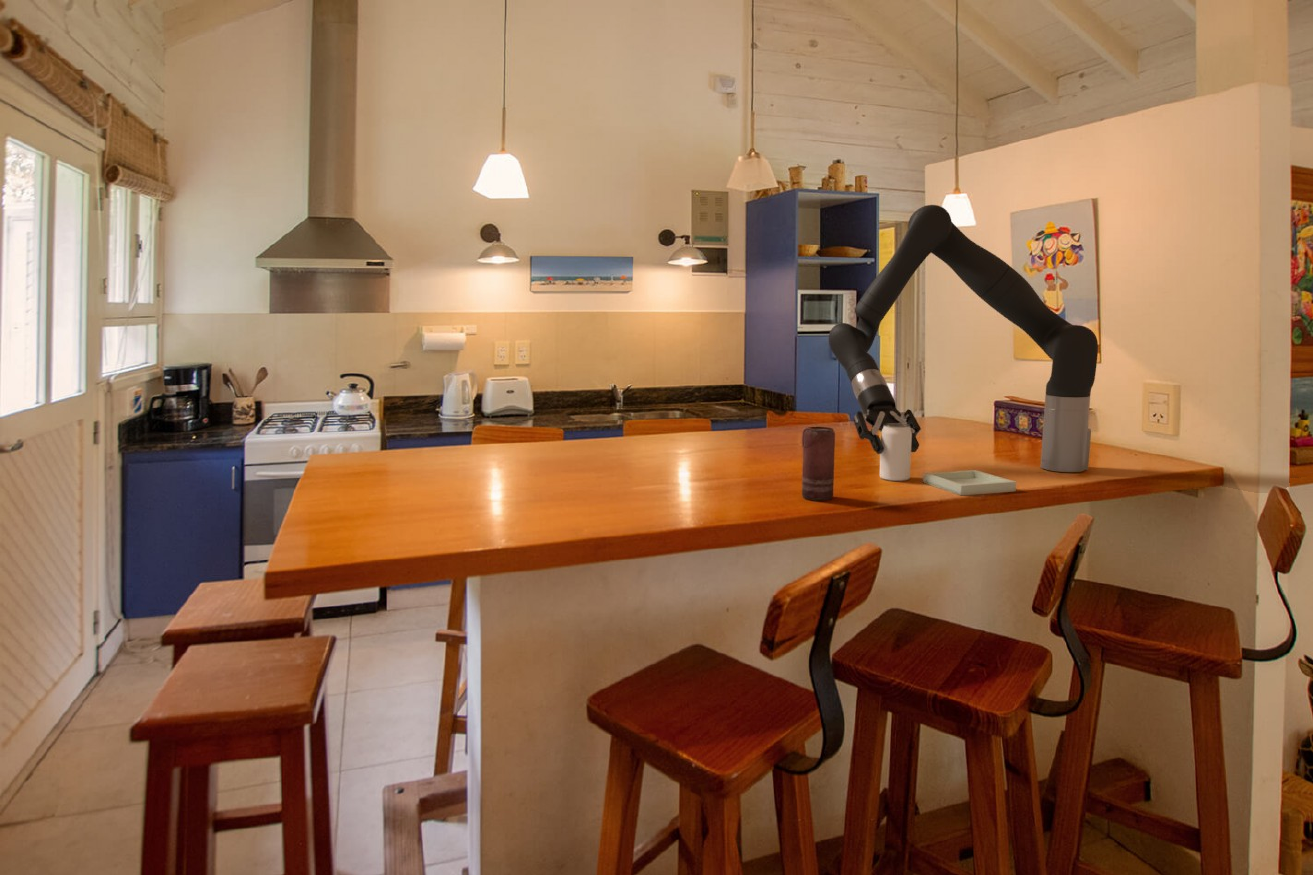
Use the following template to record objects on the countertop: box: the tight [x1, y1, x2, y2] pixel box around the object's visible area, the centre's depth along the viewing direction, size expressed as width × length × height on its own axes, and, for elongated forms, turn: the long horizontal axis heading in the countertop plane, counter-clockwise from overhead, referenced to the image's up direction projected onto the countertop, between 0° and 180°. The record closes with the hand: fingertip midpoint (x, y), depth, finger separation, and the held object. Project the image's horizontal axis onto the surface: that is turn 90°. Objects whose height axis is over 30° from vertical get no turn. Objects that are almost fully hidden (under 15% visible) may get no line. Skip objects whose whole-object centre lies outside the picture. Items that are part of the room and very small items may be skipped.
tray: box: [922, 469, 1017, 496], centre depth 171 cm, size 13×13×2 cm
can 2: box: [879, 423, 912, 482], centre depth 179 cm, size 6×6×12 cm
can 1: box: [801, 426, 836, 502], centre depth 161 cm, size 6×6×14 cm
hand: (898, 451), depth 178 cm, fingers open, 8 cm apart
